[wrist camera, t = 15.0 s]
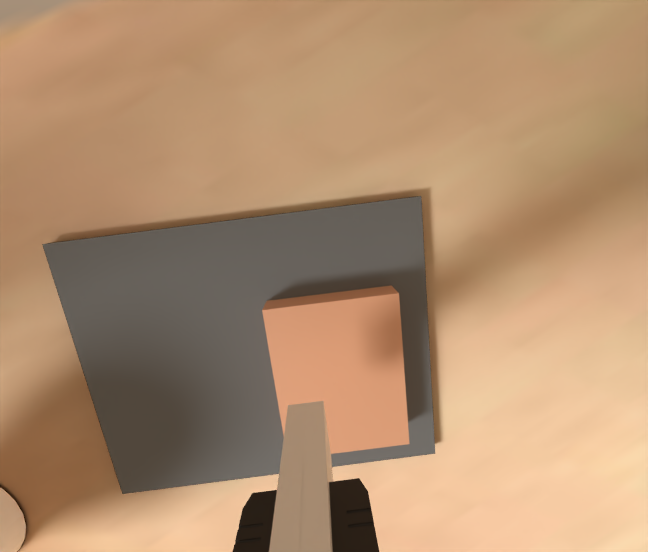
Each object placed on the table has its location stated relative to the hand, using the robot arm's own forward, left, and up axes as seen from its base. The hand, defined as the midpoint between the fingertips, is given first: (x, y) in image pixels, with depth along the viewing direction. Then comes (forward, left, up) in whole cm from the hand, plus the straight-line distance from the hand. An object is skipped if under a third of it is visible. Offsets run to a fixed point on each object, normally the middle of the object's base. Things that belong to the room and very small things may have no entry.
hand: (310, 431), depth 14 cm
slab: (-2, 0, -5) cm, 5 cm away
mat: (-3, +1, -6) cm, 7 cm away
